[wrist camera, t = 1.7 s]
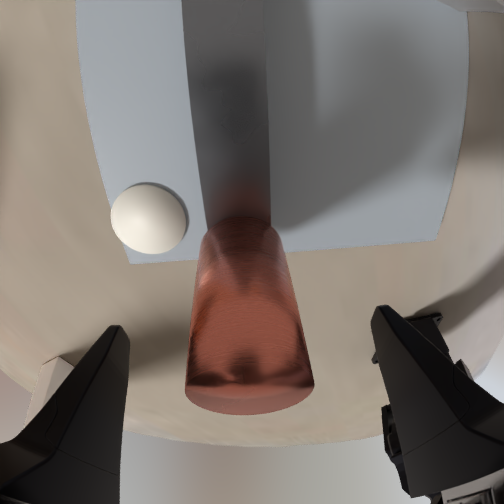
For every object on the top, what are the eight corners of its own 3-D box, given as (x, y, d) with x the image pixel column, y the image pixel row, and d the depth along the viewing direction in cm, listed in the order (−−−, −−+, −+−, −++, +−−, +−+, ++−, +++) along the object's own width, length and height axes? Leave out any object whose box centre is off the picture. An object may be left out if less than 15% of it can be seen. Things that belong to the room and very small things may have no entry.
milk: (98, 380, 27) (80, 548, 10) (77, 387, 29) (58, 532, 11) (57, 354, 24) (25, 534, 6) (40, 364, 25) (11, 517, 8)
